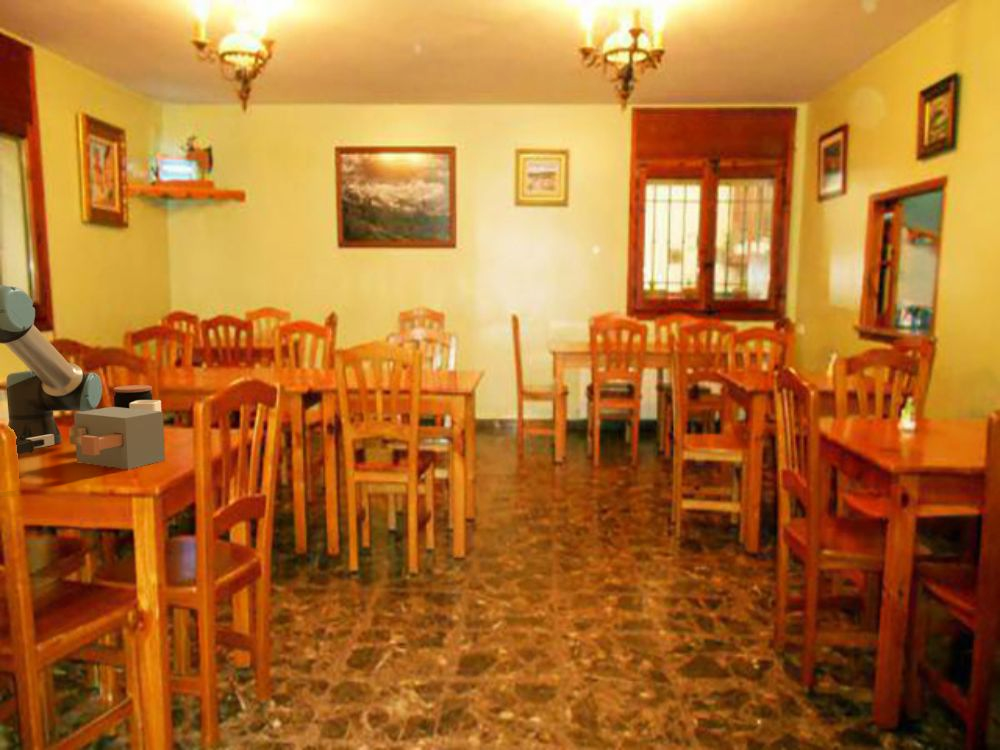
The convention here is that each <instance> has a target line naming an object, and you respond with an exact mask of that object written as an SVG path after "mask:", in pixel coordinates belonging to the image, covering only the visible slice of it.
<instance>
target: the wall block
mask: <svg viewBox="0 0 1000 750" xmlns="http://www.w3.org/2000/svg"><path fill="white" fill-rule="evenodd" d="M163 412H164V411H162V410H161V411H152V410H141V409H131V408H120V407H114V406H109V407H103V408H94V409H93V410H89V411H83V412H81V411H75V412H74V413H73V419H74V421H73V422H74V427H81V428H86V430H87V435H88V436H97V437H101V436H107V435H112V434H117V433H120V434H123V445H121V446H116V447H111V448H107V449H102V450H99V452H100V454H99V455H87V454H82V446H81V445H75V453H76V463H77V462H81V463H80V464H83V463H89V464H88V465H90V464H95V465H94V466H97V465H101V466H100V467H104V466H108V467H107V468H111V467H116V468H115V469H118V468H123V469H122V470H125V469H130V470H132V468H134V469H137V468H136V467H138V468H141V467H140V466H142V467H145V466H144V465H146V466H149V465H148V464H150V465H153V464H152V463H154V464H157V463H156V462H158V463H161V461H162V462H164V461H166V455H165V454H166V453H165V434H164V432H165V430H164V413H163Z"/></svg>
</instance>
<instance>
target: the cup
mask: <svg viewBox="0 0 1000 750" xmlns="http://www.w3.org/2000/svg"><path fill="white" fill-rule="evenodd" d="M129 408H131V409H141V410H152V411H162V401H161V400H160V399H152V400H138V401H134V402H131V403H129Z"/></svg>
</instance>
